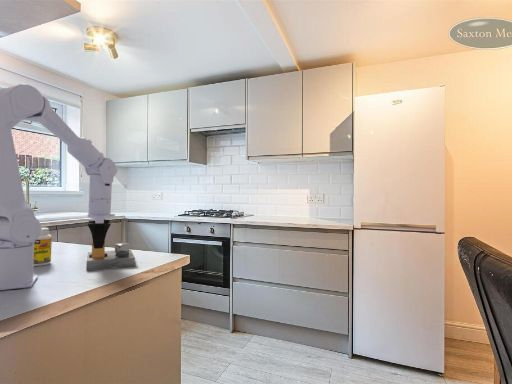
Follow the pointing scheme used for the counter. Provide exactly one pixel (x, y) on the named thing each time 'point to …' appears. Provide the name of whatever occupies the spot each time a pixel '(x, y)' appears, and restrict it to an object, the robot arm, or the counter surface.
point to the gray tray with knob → (112, 258)
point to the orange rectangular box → (98, 251)
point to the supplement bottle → (42, 248)
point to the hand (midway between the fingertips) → (98, 245)
